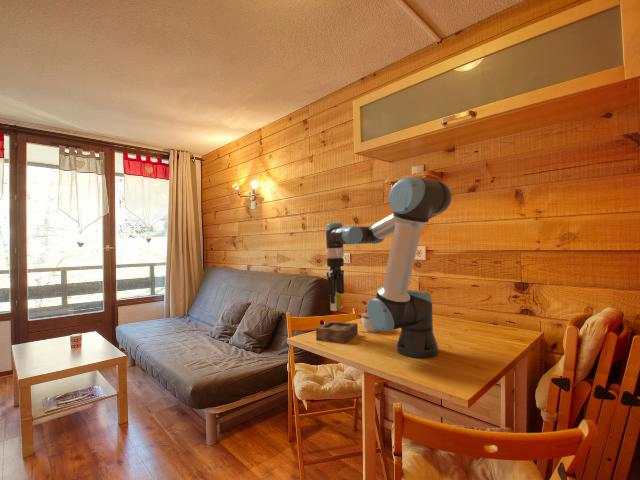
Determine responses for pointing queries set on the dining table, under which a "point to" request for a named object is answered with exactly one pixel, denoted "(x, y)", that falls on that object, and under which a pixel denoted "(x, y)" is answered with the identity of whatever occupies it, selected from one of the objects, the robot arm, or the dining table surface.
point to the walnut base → (337, 332)
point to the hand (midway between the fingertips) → (336, 309)
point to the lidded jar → (367, 323)
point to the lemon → (339, 300)
